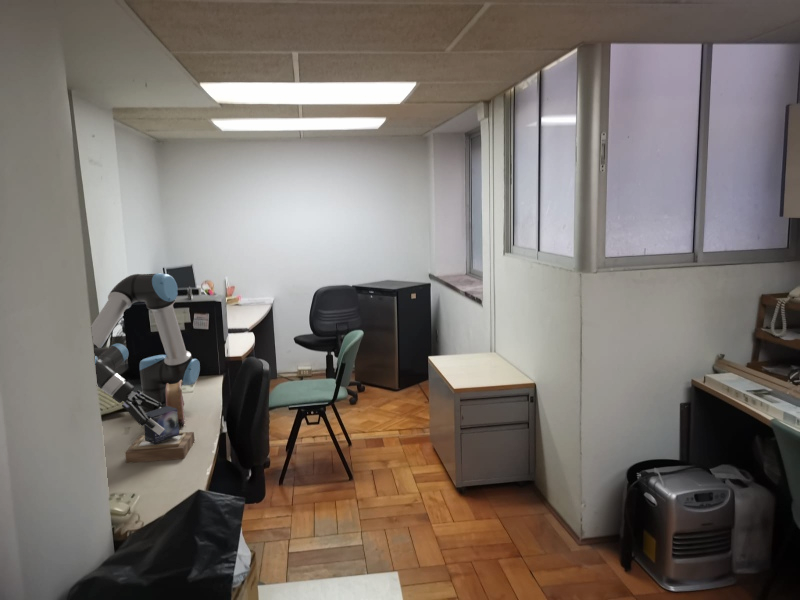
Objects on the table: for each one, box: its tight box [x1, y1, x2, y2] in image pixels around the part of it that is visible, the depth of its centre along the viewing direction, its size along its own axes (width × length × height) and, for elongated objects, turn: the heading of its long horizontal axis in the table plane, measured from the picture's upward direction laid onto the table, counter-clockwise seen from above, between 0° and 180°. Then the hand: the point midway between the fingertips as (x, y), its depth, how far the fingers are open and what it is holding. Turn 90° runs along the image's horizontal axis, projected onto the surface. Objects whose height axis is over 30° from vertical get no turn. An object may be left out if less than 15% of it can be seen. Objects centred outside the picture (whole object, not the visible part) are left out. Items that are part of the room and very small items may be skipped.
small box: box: [143, 406, 180, 444], centre depth 221 cm, size 11×6×10 cm, turn 144°
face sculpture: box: [165, 380, 186, 426], centre depth 253 cm, size 20×7×17 cm, turn 21°
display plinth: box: [124, 431, 196, 464], centre depth 222 cm, size 16×20×5 cm
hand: (166, 426), depth 222 cm, fingers closed on small box, 11 cm apart
